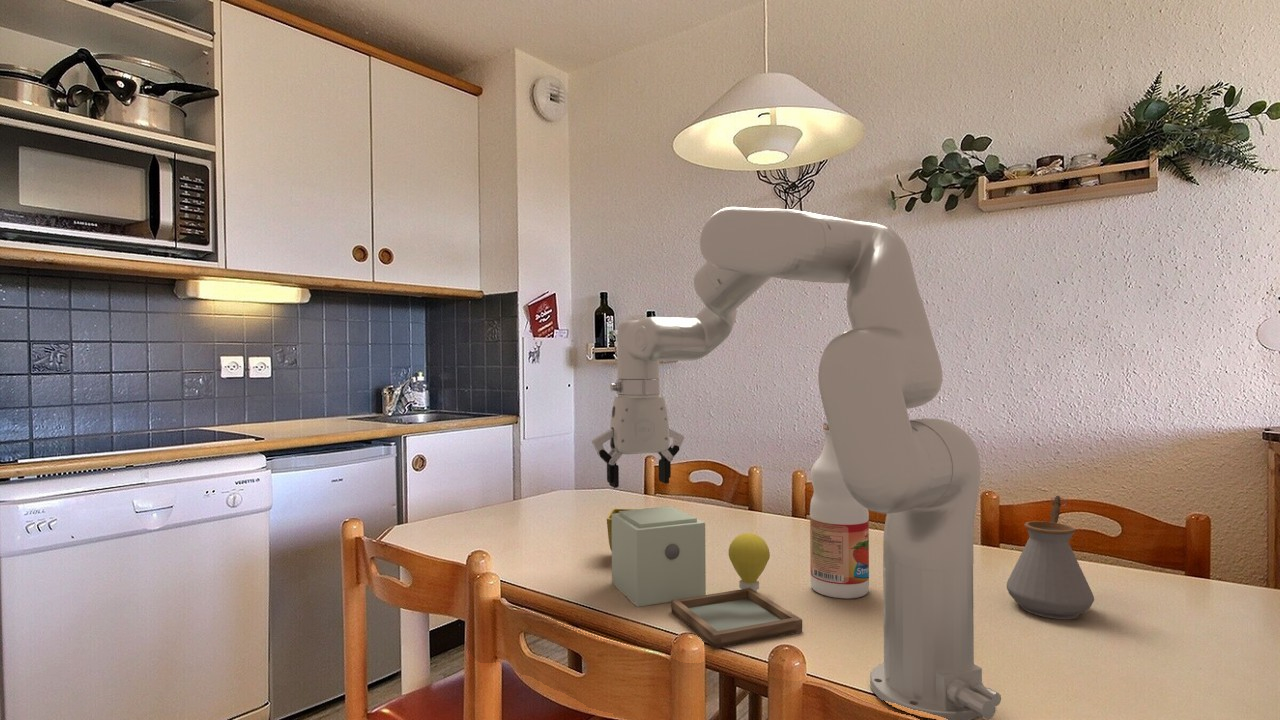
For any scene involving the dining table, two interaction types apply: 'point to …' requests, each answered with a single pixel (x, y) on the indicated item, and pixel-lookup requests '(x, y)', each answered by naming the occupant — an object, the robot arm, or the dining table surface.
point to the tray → (735, 617)
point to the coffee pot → (1050, 572)
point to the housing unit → (658, 555)
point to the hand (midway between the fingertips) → (639, 484)
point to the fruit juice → (837, 531)
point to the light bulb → (749, 559)
